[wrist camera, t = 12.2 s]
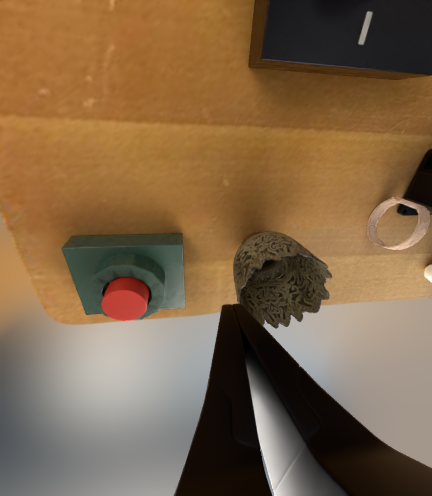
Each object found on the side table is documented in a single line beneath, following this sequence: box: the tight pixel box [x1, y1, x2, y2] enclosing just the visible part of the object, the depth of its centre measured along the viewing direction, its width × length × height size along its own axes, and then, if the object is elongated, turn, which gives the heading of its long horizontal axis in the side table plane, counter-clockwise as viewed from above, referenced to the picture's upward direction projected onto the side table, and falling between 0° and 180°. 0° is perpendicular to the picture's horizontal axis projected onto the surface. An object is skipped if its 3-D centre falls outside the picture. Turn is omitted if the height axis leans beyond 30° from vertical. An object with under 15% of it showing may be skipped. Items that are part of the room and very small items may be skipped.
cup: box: [233, 232, 332, 328], centre depth 20 cm, size 8×7×8 cm
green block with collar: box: [62, 233, 185, 320], centre depth 22 cm, size 10×8×4 cm
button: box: [101, 277, 149, 321], centre depth 19 cm, size 4×4×2 cm
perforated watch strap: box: [366, 197, 430, 250], centre depth 22 cm, size 3×5×5 cm, turn 163°
